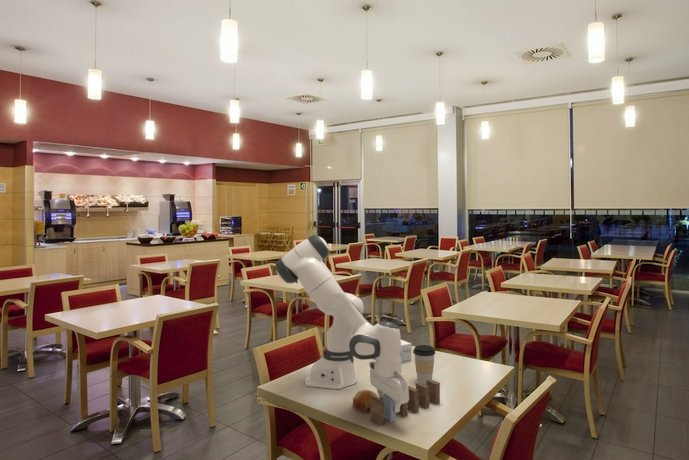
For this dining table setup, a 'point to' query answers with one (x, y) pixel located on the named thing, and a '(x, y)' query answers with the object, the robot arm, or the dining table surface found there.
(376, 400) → the domino
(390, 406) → the domino
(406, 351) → the supplement box
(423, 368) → the coffee cup
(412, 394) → the domino
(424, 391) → the domino
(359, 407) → the bread roll
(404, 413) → the domino
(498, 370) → the dining table surface
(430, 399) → the domino
